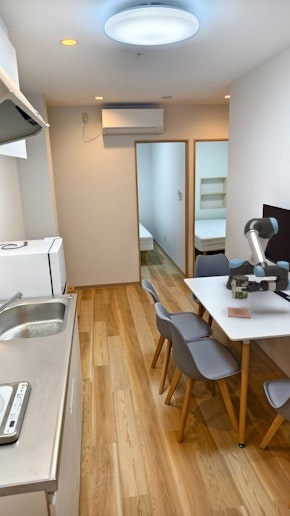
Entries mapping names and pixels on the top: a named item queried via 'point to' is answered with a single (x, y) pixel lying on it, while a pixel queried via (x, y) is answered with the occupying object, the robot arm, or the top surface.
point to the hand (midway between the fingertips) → (233, 286)
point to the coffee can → (239, 282)
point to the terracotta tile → (238, 312)
